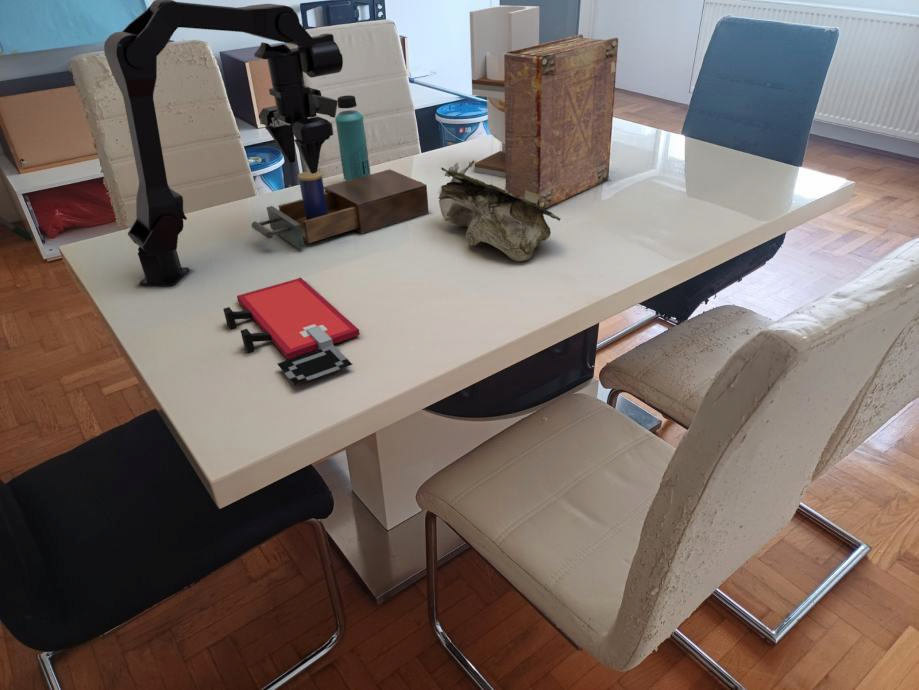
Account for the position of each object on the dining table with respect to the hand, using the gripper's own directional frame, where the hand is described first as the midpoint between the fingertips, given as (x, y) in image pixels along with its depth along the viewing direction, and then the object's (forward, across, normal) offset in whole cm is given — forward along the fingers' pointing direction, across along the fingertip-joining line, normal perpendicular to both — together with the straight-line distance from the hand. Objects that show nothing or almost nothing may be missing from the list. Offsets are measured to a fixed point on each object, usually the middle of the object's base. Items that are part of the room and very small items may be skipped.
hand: (303, 167), depth 129 cm
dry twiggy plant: (+13, -4, -36) cm, 38 cm away
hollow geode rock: (+13, -28, -24) cm, 39 cm away
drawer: (+12, -1, +2) cm, 12 cm away
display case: (+13, +2, -53) cm, 55 cm away
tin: (+11, -1, 0) cm, 11 cm away
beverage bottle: (+13, +18, -21) cm, 31 cm away
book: (+13, -18, -51) cm, 56 cm away
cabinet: (+13, -2, -14) cm, 19 cm away
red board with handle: (+13, -34, +21) cm, 42 cm away
